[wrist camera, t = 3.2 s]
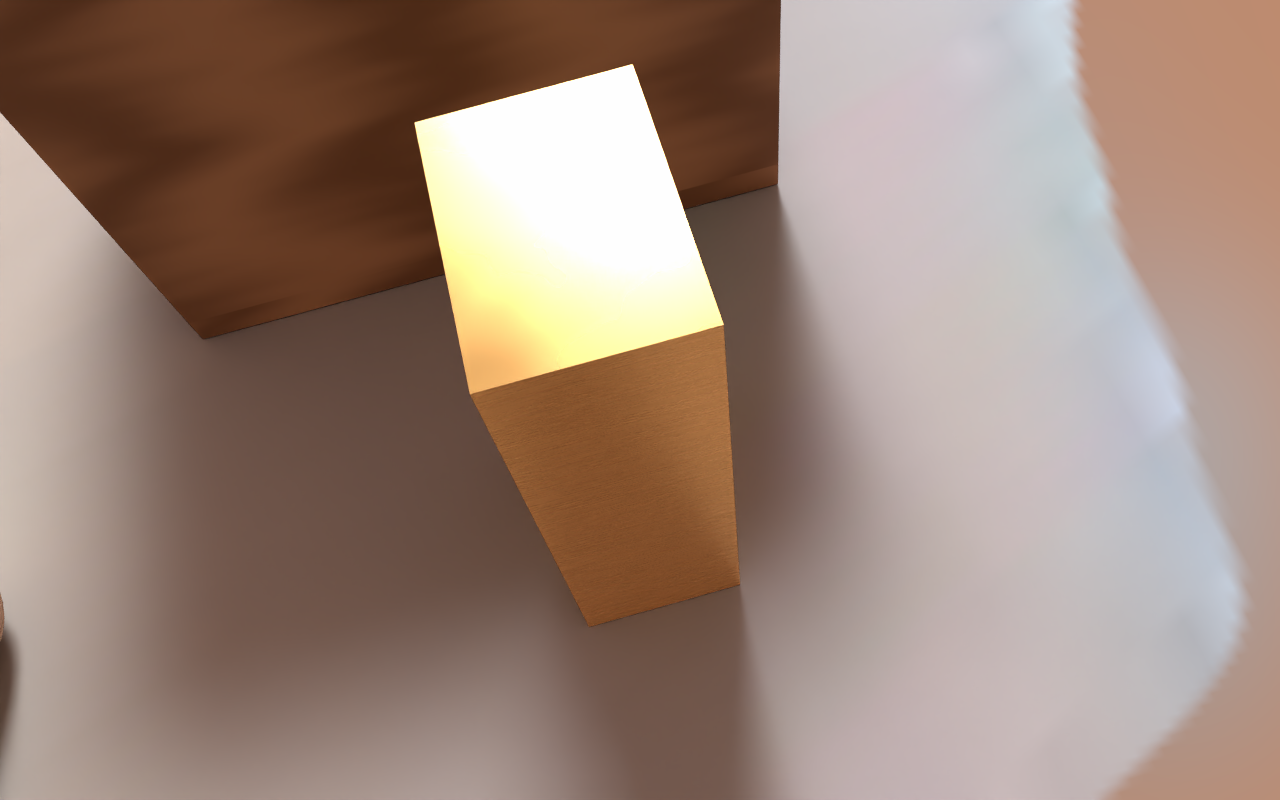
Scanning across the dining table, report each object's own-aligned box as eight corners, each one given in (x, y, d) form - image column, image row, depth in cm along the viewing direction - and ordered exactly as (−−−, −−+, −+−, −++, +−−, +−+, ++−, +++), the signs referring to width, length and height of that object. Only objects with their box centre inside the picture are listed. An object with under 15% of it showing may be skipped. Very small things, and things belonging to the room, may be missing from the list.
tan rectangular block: (588, 627, 24) (470, 393, 14) (543, 434, 26) (414, 122, 17) (740, 584, 24) (723, 324, 14) (680, 396, 26) (632, 65, 17)
